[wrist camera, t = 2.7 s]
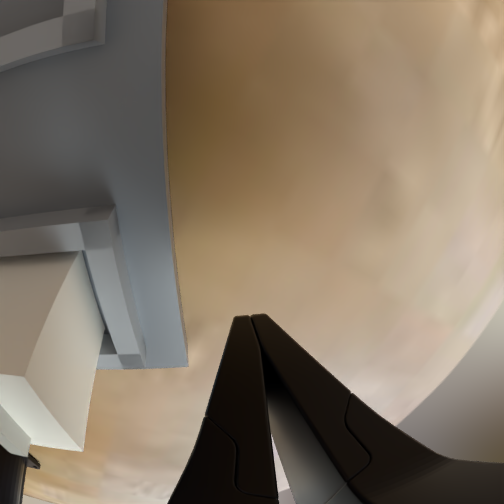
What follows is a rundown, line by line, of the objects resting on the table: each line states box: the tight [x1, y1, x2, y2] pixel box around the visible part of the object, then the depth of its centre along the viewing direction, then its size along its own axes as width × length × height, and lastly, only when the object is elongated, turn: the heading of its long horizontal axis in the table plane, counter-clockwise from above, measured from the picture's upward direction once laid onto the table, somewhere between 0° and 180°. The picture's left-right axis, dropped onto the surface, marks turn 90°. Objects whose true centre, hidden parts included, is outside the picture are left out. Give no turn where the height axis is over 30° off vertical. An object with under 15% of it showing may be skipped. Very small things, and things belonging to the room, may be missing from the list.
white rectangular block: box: [0, 250, 105, 457], centre depth 7 cm, size 3×4×5 cm
